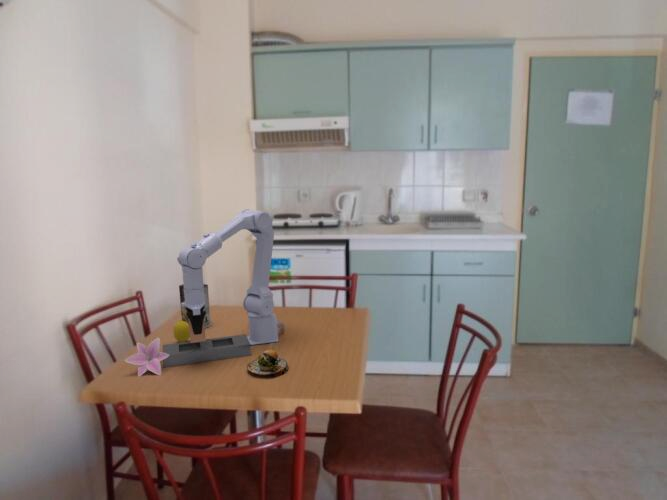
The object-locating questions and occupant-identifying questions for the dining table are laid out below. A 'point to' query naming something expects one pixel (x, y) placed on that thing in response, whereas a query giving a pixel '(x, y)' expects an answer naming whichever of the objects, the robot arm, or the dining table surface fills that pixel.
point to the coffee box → (206, 308)
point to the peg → (197, 337)
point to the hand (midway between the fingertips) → (197, 331)
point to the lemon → (181, 331)
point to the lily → (148, 357)
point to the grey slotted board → (206, 350)
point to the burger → (268, 364)
